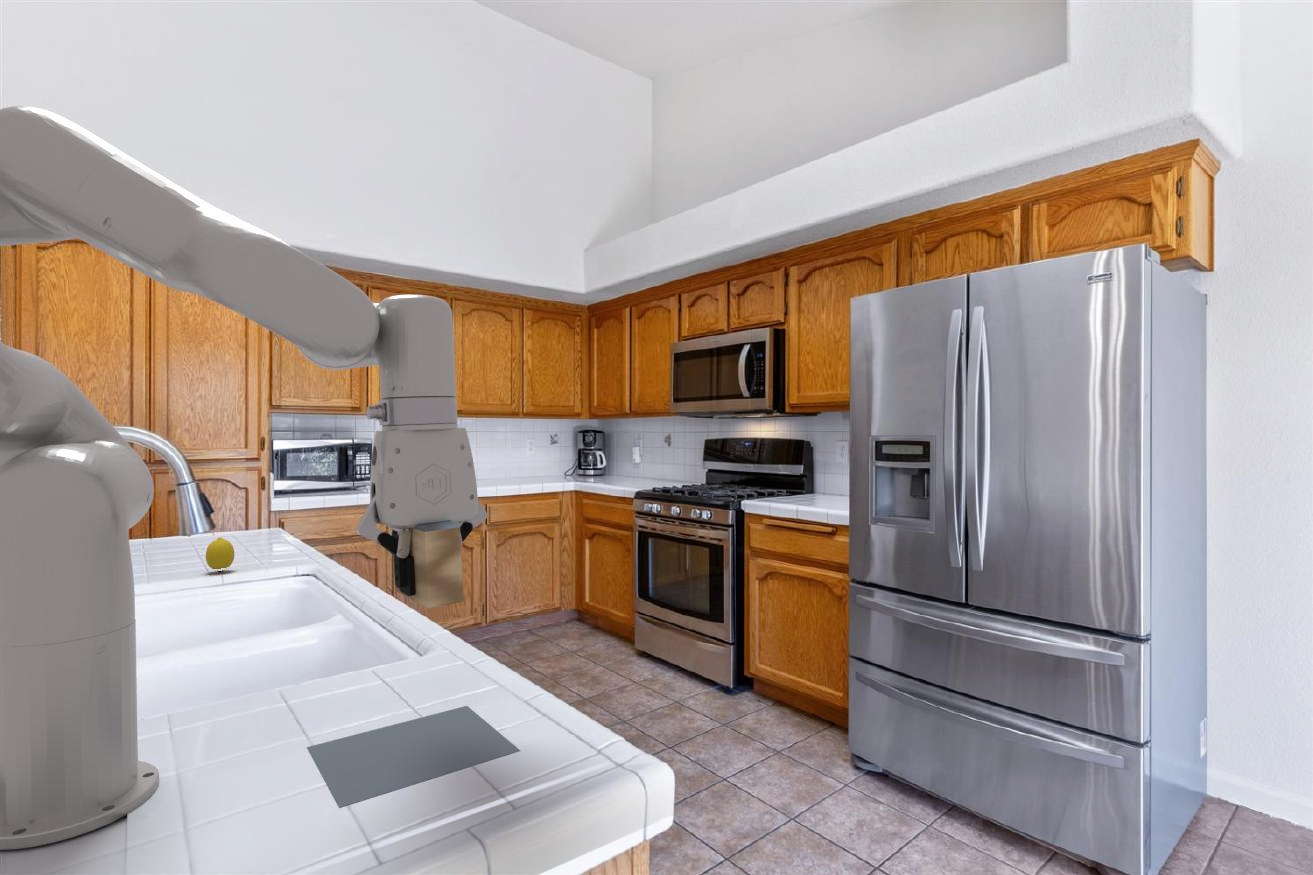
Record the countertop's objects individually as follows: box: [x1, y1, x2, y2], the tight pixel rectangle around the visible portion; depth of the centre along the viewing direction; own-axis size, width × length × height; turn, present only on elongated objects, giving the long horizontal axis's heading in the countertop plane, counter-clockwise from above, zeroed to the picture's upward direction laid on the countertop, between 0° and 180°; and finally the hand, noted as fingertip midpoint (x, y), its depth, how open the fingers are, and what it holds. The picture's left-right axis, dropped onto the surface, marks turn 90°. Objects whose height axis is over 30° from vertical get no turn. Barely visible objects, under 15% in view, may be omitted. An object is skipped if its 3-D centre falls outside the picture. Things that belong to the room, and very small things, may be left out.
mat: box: [306, 705, 521, 809], centre depth 70 cm, size 17×14×1 cm
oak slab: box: [392, 521, 464, 610], centre depth 72 cm, size 4×10×8 cm, turn 39°
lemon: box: [205, 537, 235, 570], centre depth 156 cm, size 6×6×8 cm
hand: (428, 587), depth 73 cm, fingers closed on oak slab, 3 cm apart
